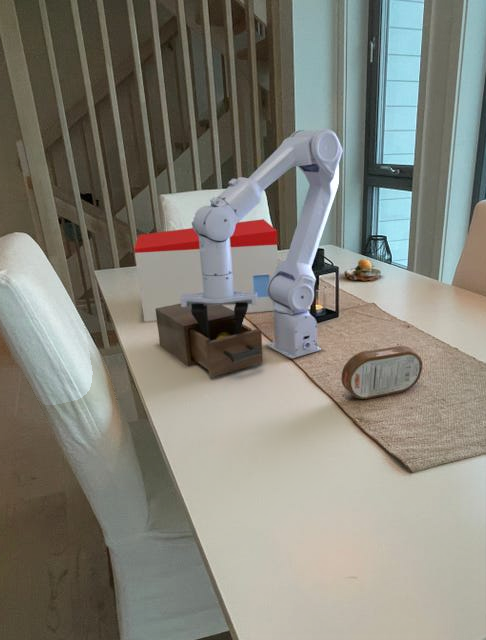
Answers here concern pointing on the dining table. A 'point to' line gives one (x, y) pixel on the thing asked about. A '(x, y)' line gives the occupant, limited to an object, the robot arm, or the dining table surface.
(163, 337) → the cabinet
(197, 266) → the red-topped white box
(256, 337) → the drawer
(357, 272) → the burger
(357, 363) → the tin
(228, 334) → the yellow oval capsule
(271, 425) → the dining table surface
